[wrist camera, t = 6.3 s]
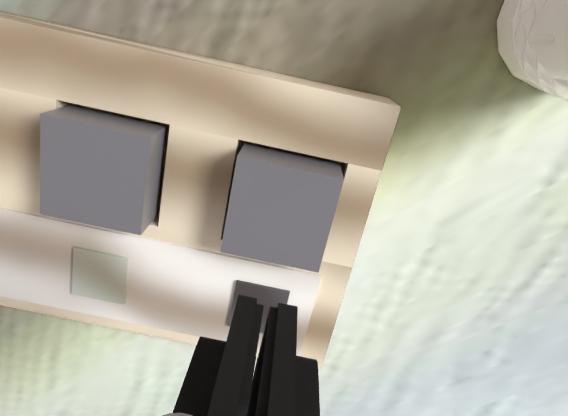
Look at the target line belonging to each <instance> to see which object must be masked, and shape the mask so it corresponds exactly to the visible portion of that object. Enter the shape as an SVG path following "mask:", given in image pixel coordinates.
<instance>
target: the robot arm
mask: <svg viewBox="0 0 568 416" xmlns="http://www.w3.org/2000/svg"><path fill="white" fill-rule="evenodd" d="M263 308H264V305H262V304H257V298H254V297H249V296H244V295H238V298H237V302H236V306H235V310H234V314H233V318H232V321H231V325H230V329H229V333H228V337H227V341H222V340H217V339H212V338H207V337H202V336H200V338H199V340H198V343H197V345H196V348H195V351H194V354H193V357H192V360H191V362H190V365H189V368H188V371H187V374H186V377H185V379H184V382H183V385H182V388H181V391H180V394H179V396H178V399H177V402H176V405H175V408H174V410H173V413H169V414H166V415H163V416H320V406H319V380H318V362H317V360H316V359H311V358H306V357H301V356H296V349H297V314H298V307H297V306H293V305H288V304H283V303H278V305H277V308H276V307H272V306H270V308H269V312H268V316H267V320H266V324H265V329H264V333H263V337H262V342H261V346H260V350H259V354H258V359H257V363H256V367H255V371H254V366H255V360H256V353H257V347H258V341H259V334H260V328H261V321H262V315H263ZM253 373H254V376H253ZM252 379H253V380H252Z"/></svg>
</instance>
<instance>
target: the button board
mask: <svg viewBox="0 0 568 416" xmlns="http://www.w3.org/2000/svg"><path fill="white" fill-rule="evenodd" d="M68 105H71V106H76V107H80V108H85V109H89V110H94V111H98V112H103V113H108V114H112V115H117V116H121V117H126V118H131V119H135V120H140V121H144V122H149V123H153V124H158V125H163V126H167V134H166V142H165V151H164V160H163V169H162V178H161V187H160V196H159V205H158V213H157V216H156V218H155V219H154V220H153V221H152V222H151V224H150V225H149V226H148V227H147V228H146V230H145V231H144V232H143V233H142V234H141V235H136V234H132V233H127V232H122V231H117V230H113V229H108V228H103V227H98V226H94V225H89V224H84V223H79V222H74V221H70V220H65V219H60V218H55V217H51V216H46V215H41V214H40V113H43V112H47V111H51V110H54V109H58V108H61V107H65V106H68ZM400 109H401V107H400V106H399V105H398V104H396V103H395V102H394V101H392V100H391V99H389V98H388V97H383V96H379V95H374V94H370V93H365V92H361V91H356V90H352V89H347V88H343V87H339V86H334V85H330V84H325V83H321V82H316V81H312V80H307V79H303V78H298V77H294V76H289V75H285V74H280V73H276V72H272V71H267V70H263V69H258V68H254V67H249V66H245V65H240V64H236V63H231V62H227V61H222V60H218V59H213V58H209V57H204V56H200V55H196V54H191V53H187V52H182V51H178V50H173V49H169V48H164V47H160V46H155V45H151V44H146V43H142V42H137V41H133V40H129V39H124V38H120V37H115V36H111V35H106V34H102V33H97V32H93V31H88V30H84V29H79V28H75V27H70V26H66V25H61V24H57V23H53V22H48V21H44V20H39V19H35V18H30V17H26V16H21V15H17V14H12V13H8V12H3V11H0V305H1V306H6V307H11V308H16V309H21V310H26V311H31V312H36V313H41V314H46V315H51V316H56V317H61V318H66V319H70V320H75V321H80V322H85V323H90V324H95V325H100V326H105V327H110V328H115V329H120V330H125V331H130V332H135V333H140V334H144V335H149V336H154V337H159V338H164V339H169V340H174V341H179V342H184V343H189V344H194V345H197V343H198V340H199V338H200V336H202V337H207V338H212V339H217V340H222V341H227V337H228V333H229V329H230V325H231V321H232V318H233V314H234V310H235V306H236V302H237V298H238V295H244V296H249V297H254V298H257V304H262V305H264V308H263V315H262V321H261V328H260V334H259V341H258V347H257V353H256V357H258V354H259V350H260V346H261V342H262V337H263V333H264V329H265V324H266V320H267V316H268V312H269V308H270V306H272V307H276V308H277V305H278V303H283V304H288V305H293V306H297V307H298V314H297V349H296V356H301V357H306V358H311V359H316V360H317V362H318V370H321V368H322V365H323V362H324V358H325V355H326V352H327V348H328V345H329V342H330V339H331V335H332V332H333V329H334V326H335V322H336V319H337V316H338V312H339V309H340V306H341V303H342V299H343V296H344V293H345V289H346V286H347V283H348V280H349V276H350V273H351V270H352V267H353V263H354V260H355V257H356V253H357V250H358V247H359V244H360V240H361V237H362V234H363V230H364V227H365V224H366V221H367V217H368V214H369V211H370V207H371V204H372V201H373V198H374V194H375V191H376V188H377V185H378V181H379V178H380V175H381V171H382V168H383V165H384V162H385V158H386V155H387V152H388V148H389V145H390V142H391V139H392V135H393V132H394V129H395V126H396V122H397V119H398V116H399V112H400ZM244 144H250V145H254V146H259V147H263V148H268V149H273V150H277V151H282V152H286V153H291V154H296V155H300V156H305V157H309V158H314V159H319V160H323V161H328V162H332V163H337V164H340V166H341V170H342V173H343V177H344V182H343V185H342V189H341V192H340V196H339V200H338V203H337V207H336V211H335V214H334V218H333V222H332V225H331V229H330V233H329V236H328V240H327V244H326V247H325V251H324V255H323V258H322V262H321V265H320V269H319V273H318V272H313V271H308V270H303V269H298V268H294V267H289V266H284V265H279V264H275V263H270V262H265V261H260V260H256V259H251V258H246V257H241V256H237V255H232V254H227V253H222V252H220V251H221V245H222V239H223V234H224V228H225V222H226V217H227V211H228V205H229V199H230V194H231V188H232V182H233V177H234V171H235V165H236V160H237V155H238V154H239V152H240V150H241V149H242V147H243V145H244Z"/></svg>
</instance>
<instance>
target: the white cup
mask: <svg viewBox="0 0 568 416" xmlns="http://www.w3.org/2000/svg"><path fill="white" fill-rule="evenodd" d="M497 37H498V52H499V54H500V55H501V57H502V59H503V60H504V62H505V64H506V65H507V67H508V69H509V70H510V72H511V74H512V75H513V76H514V77H516V78H518V79H520V80H522V81H524V82H525V83H527V84H529V85H531V86H533V87H535V88H537V89H539V90H542V91H545V92H547V93H548V94H551V95H553V96H555V97H558V98H561V99H563V100H566V101H568V0H504V3H503V5H502V8H501V11H500V13H499V16H498V19H497Z"/></svg>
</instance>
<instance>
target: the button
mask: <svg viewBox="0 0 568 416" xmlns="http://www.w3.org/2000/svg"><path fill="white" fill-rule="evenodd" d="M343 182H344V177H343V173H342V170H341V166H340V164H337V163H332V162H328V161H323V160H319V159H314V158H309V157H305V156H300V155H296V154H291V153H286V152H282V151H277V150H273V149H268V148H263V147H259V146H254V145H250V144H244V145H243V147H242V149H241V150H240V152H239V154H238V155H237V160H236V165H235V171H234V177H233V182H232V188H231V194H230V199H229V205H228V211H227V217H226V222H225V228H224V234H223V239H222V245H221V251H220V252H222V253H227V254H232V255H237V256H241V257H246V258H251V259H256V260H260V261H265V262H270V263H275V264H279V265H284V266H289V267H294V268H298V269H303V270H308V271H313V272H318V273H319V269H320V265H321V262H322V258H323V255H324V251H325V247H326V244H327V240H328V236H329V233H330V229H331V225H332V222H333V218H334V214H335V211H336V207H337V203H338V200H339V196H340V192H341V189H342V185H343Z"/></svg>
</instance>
